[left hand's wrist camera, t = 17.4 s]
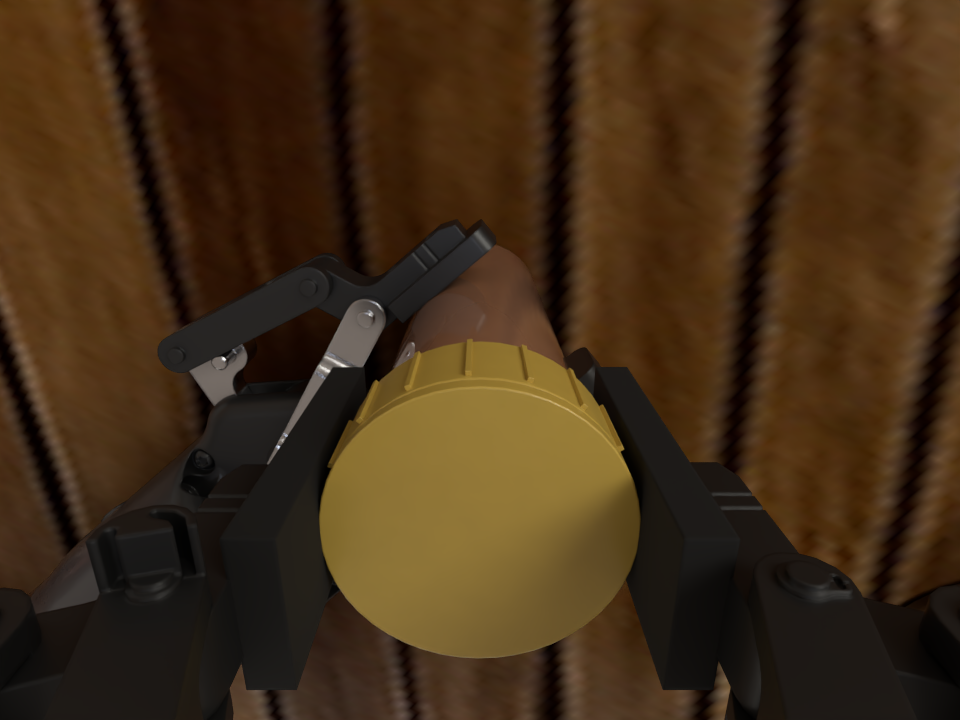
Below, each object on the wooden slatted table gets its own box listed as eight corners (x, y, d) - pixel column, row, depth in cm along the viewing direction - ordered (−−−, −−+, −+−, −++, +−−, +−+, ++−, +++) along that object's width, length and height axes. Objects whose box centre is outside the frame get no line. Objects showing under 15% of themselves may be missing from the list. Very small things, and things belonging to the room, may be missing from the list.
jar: (401, 311, 26) (293, 539, 11) (467, 218, 25) (446, 334, 10) (491, 372, 27) (506, 659, 12) (559, 287, 26) (672, 489, 11)
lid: (636, 547, 13) (668, 629, 11) (390, 599, 14) (373, 687, 11) (588, 307, 11) (614, 346, 9) (304, 376, 12) (264, 430, 9)
